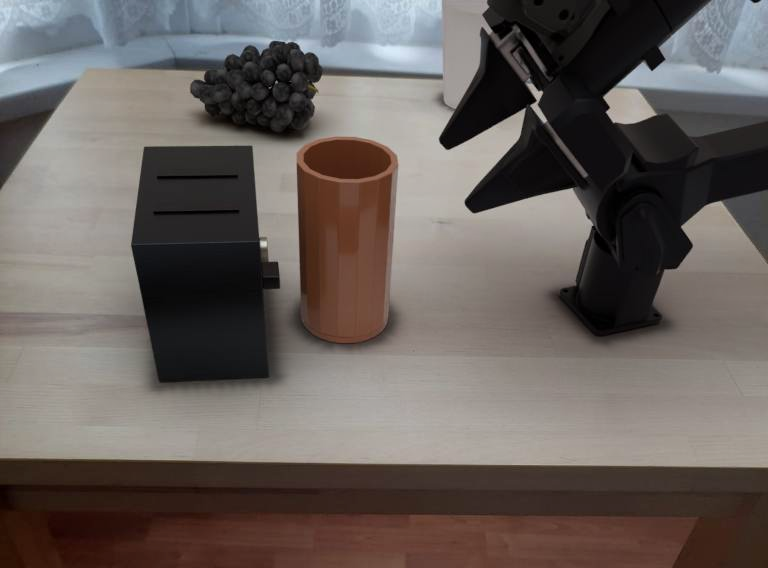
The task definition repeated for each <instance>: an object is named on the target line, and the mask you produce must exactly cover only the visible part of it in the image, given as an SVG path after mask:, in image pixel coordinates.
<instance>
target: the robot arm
mask: <svg viewBox="0 0 768 568" xmlns="http://www.w3.org/2000/svg"><path fill="white" fill-rule="evenodd" d="M712 1H713V0H487V5H488V6H489V8H488V9H487V10H486V11H485V12H484V13H483V14H482V16H483V17H484V19H485V20H486V22H487V24H488V25H489V27H490V28H491V30H492V32H491V33H490V34H488V33H487V32H486V30H485V29H484V28H483V27H482V28H481V30H480V37H481V51H480V64H479V68H478V70H477V72H476V74H475V76H474V78H473V79H472V81H471V83H470V85H469V87H468V89H467V90H466V92H465V94H464V96H463V97H462V99H461V101H460V102H459V104H458V106H457V108H456V109H454V110H453V112H452V115H450V118H449V120H448V121H447V123H446V125H445V127H444V128H443V130H442V132H441V134H440V135H439V137H438V142H439V144H440V145H441V146H442V147H443V148H444V149H445V150H446V151H450V150H452V149H454V148H457V147H458V146H460V145H462V144H464V143H466V142H468V141H470V140H472V139H473V138H475V137H477V136H479V135H480V134H483V133H484V132H486V131H488V130H489V129H491V128H493V127H495V126H496V125H498V124H500V123H502V122H504V121H505V120H507V119H509V118H510V117H512V116H515V115H516V114H518V113H520V112H522V111H523V110H524V115H523V120H522V124H521V129H520V135H519V137H518V139H517V140H516V141H515V143H514V144H512V146H511V147H510V148H509V149H508V150H507V151H506V153H505V154H503V156H502V157H501V158H500V159H499V160H498V161H497V162H496V163H495V164H494V166H492V168H491V169H490V170H489V171H488V172H487V173H486V174H485V176H483V177H482V179H481V180H479V182H478V183H477V184H476V185H475V187H474V188H473V189H472V191H471V192H470V193H469V194H468V195H467V196H466V198H465V199H464V200H463V201H464V203H463V204H464V206H465V207H466V208H467V210H469V212H470V213H472V214H478V213H482V212H485V211H489V210H493V209H497V208H500V207H504V206H506V205H510V204H513V203H517V202H520V201H524V200H527V199H531V198H534V197H539V196H543V195H547V194H553V193H557V192H562V191H567V190H571V189H572V191H573V192H574V195H575V196H576V198H577V200H578V201H579V203H580V204H581V206H582V207H583V209H584V211H585V213H584V214H585V216H586V218H587V219H588V220H590V222H591V224H592V225H591V228H590V231H589V235H588V238H587V239H586V240H585V243H584V247H583V250H582V253H581V258H580V262H579V266H578V269H577V273H576V277H575V279H574V280H575V285H571V286H566V287H565V286H564V287H561V288H560V289H559V292H558V296H559V297H560V298H561V299H562V300H563V302H565V304H567V306H568V307H569V308H570V309H571V310H572V311H573V312H574V313H575V314H576V315H577V316H578V317H579V318H580V319H581V320H582V321H583V323H584V324H585V325H586V326H587V327H588V328H589V329H590V330H591V331H592V332H593V333H594V334H595V335H597V336H603V335H609V334H614V333H618V332H622V331H627V330H632V329H637V328H641V327H646V326H649V325H655V324H660V323H661V321H662V320H663V315H662V314H661V312H660V311H658V310H657V308H655V307H654V306H653V304H654V301H655V298H656V295H657V293H658V290H659V287H660V285H661V282H662V278H663V276H664V274H665V271H666V270H667V271H669V270H677V269H678V268H679V267H680V266H681V265H682V263H683V262H684V260H685V259H686V257H687V256H688V255H689V254H690V252H691V251H692V250H693V247H694V244H693V242H692V241H691V239H690V238H689V236H688V235H687V234H686V232H685V231H684V228H683V226H685V224H687V222H688V221H689V220H691V219H692V218H693V217H694V216H696V215H697V214H698V213H699V212H701V210H702V209H703V208H705V207H706V206H708V205H711V204H714V203H719V202H724V201H728V200H732V199H737V198H741V197H746V196H750V195H753V194H758V193H763V192H768V120H766V121H762V122H757V123H752V124H748V125H745V126H740V127H735V128H731V129H726V130H723V131H717V132H714V133H708V134H706V135H701V136H700V135H699V136H690V135H688V134H687V132H685V130H684V129H683V128H682V127H681V126H680V125H679V124H678V123H677V122H676V121H675V120H674V119H673V117H671V116H670V114H668V113H662V114H655V115H653V116H650V117H647V118H645V119H643V120H640V121H636V122H632V123H623V122H616V121H615V122H614V121H613V120H612V118H611V117H610V115H608V113H607V112H608V111H609V110H610V109H611V106H610V105H609V103H608V102H607V101H606V99H605V98H604V97H606V95H608V94H609V93H610V92H611V91H612V90H613V89H614V88H615V87H617V86H618V85H619V84H620V83H621V82H623V80H624V79H626V78H627V77H628V76H629V75H630V74H631V73H632V72H633V71H635V70H636V69H637V68H638V67H639V66H641V64H642V63H644V65H645V66H646V67H647V68H648V69H649V70H650V71H651V72H653V71H654V70H655V69H657V68H658V67H659V66H661V64H662V63H664V62H665V61H666V58H665V56H664V54H663V52H662V51H661V46H663V45H664V44H665V43H667V41H668V40H670V38H672V36H674V35H675V34H676V33H677V32H678V31H679V30H681V29H682V28H683V27H684V26H685V25H686V24H688V22H689V21H691V19H693V18H695V16H696V15H697V14H699V13H700V12H701V11H702V10H704V8H705V7H706V6H707V5H708V4H710V3H711V2H712ZM749 1H750V2H751V3H753V4H758V3H760V2H761V1H762V0H749ZM528 80H529V81H530V82H531V84H532V85H533V87H534V88H535V89H536V90H537V92H538V93H539V92H542V94H541V96H540V98H539V100H538V99H537V98H536V95H534V93H533V91H532V90H531V88H530V87H529V85H528V84H527V83H526V82H528ZM537 102H538V103H537ZM535 103H537V107H538V108H539V110H540V111H541V113H542V115H543V116H544V118H545V120H546V121H545V122H544V121H543V120H542V119H541V118H540V116H539V115H538V113H537V112H536V111H535V110H534V108H533V107H532V106H533V105H534V104H535Z"/></svg>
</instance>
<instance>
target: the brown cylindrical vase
mask: <svg viewBox="0 0 768 568" xmlns="http://www.w3.org/2000/svg"><path fill="white" fill-rule="evenodd" d="M295 162H296V163H295V164H296V190H297V191H296V192H297V223H298V224H297V225H298V228H297V229H298V256H299V257H298V259H299V289H300V290H299V291H300V316H301V322H302V324H303V326H304V328H305V329H306V330H307V331H308V332H309V333H310V334H312V335H313V336H315V337H317V338H319V339H321V340H324V341H327V342H331V343H337V344H356V343H361V342H365V341H368V340H371V339H372V338H375V337H377V336H378V335H379V334H381V333H382V332H383V331H384V329H385V328H386V326H387V324H388V317H389V313H390V311H389V310H390V297H391V284H392V283H391V281H392V268H393V251H394V239H395V223H396V222H395V220H396V207H397V191H398V176H399V160H398V155H397V154H396V153H395V152H394V151H393V150H392V149H391V148H390V147H388V146H387V145H385V144H382V143H381V142H379V141H376V140H373V139H367V138H363V137H358V136H331V137H323V138H318V139H315V140H313V141H311V142H308V143H306V144H304V145H303V146H302V147H301V148H300V149H299V150H298V151H297V152H296V161H295Z"/></svg>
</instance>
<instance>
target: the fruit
mask: <svg viewBox="0 0 768 568" xmlns="http://www.w3.org/2000/svg"><path fill="white" fill-rule="evenodd" d="M319 59H320V58H319V57H318V56H317V55H316V54H315V53H314V52H312V51H311V52H310V51H308V52H306V53H305V52H303V51H302V49H301V46H300V45H299V44H298V43H297V42H294V41H289V42H285V41H282V40H281V41H280V40H272V41H270V42H269V44H268V47H267V48H264V49H262V51H261V52H260V51H259V49H258V48H257V47H256V46H254V45H251V44H249V45H246V46H245V47H244V48H243V50H242V52H241V53H240V55H239V56H238V54H237V55H236V54H234V53H231V54H228V55H226V57H225V59H224V64H223V65H224V68H221V69H218V70H217V69H215V68H211V69H208V70H205V72H204V75H203V79H194V80H193V81H192V82H190V85H189V93H190V94H191V96H192V97H193V98H194V99H198V100H199V101H200V102H201V103H203V105H204V111H205V112H206V114H208V115H209V116H211V117H218V116H220V114H221V115H222V116H223V117H225V118H227V119H232V121H233V122H234V124H237V125H239V126H242V125H244V124H245V123H246V122H248V123H249V124H252V125H256V124H257V123H258V124H259V125H260V126H262V127H265V128H270V130H271V131H272V132H275V133H282V132H283V131H284V130H285V129H286V128H289V129H290V130H294V129H295V130H304V129H305V128H306V127H307V126H308V123H309V121H310V119H311V118H313V117H314V115H315V110H316V106H315V104H314V102H313V99H314V98H315V96H316V94H317V93H320V91H319V88H316V86H315V84H317V83H319V82H320V80H321V79H322V76H323V71H324V69H323V67H322V65H321V64H320V61H319Z"/></svg>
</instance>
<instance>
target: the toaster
mask: <svg viewBox="0 0 768 568" xmlns="http://www.w3.org/2000/svg"><path fill="white" fill-rule="evenodd" d="M141 157H142V158H141V159H142V160H141V165H140V173H139V181H138V190H137V195H136V205H135V210H134V211H135V212H134V218H133V226H132V234H131V241H130V248H131V252H132V257H133V262H134V267H135V272H136V277H137V282H138V287H139V291H140V297H141V302H142V307H143V311H144V316H145V322H146V326H147V331H148V335H149V340H150V341H149V342H150V346H151V350H152V355H153V360H154V366H155V370H156V374H157V379H158V382H159V383H171V382H172V383H173V382H192V381H195V382H196V381H214V380H215V381H217V380H236V379H257V378H269V377H270V370H269V369H270V368H269V367H270V366H269V355H268V341H267V340H268V339H267V329H266V328H267V325H266V311H265V299H264V290H279V289H280V290H281V277H280V276H281V275H280V267H279V262H278V261H277V260H275V261H269V249H268V247H269V246H268V237H267V236H260V227H259V215H258V202H257V188H256V174H255V159H254V147H253V145H170V146H169V145H165V146H164V145H161V146H159V145H157V146H155V145H154V146H149V145H147V146H143V149H142V156H141Z"/></svg>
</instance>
